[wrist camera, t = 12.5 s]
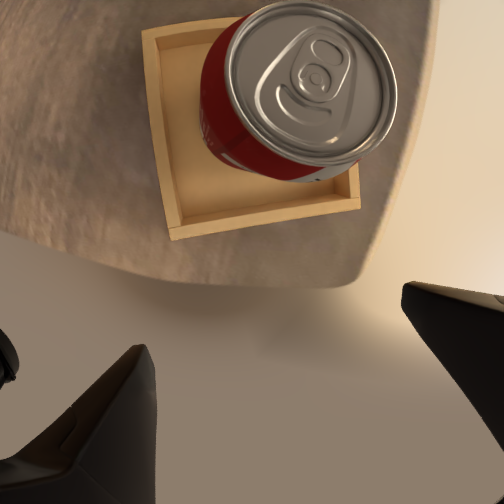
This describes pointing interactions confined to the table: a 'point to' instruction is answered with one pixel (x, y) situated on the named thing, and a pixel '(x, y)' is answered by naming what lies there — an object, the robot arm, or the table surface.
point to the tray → (203, 161)
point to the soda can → (296, 92)
